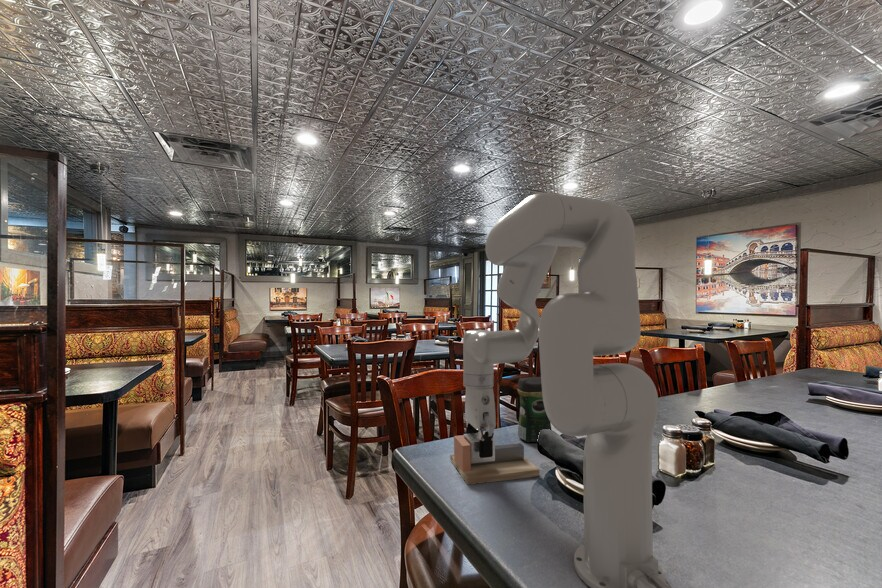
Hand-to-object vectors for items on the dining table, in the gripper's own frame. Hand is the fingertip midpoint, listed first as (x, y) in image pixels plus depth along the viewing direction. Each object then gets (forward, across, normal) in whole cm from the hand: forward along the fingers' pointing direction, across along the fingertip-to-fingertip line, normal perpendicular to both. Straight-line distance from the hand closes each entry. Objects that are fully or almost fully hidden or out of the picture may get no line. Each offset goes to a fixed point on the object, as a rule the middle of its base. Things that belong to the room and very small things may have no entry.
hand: (478, 449), depth 95 cm
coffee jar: (+5, +16, -24) cm, 29 cm away
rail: (+3, 0, -4) cm, 5 cm away
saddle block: (+2, 0, 0) cm, 2 cm away
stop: (+3, 0, +4) cm, 5 cm away
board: (+5, 0, -4) cm, 6 cm away
